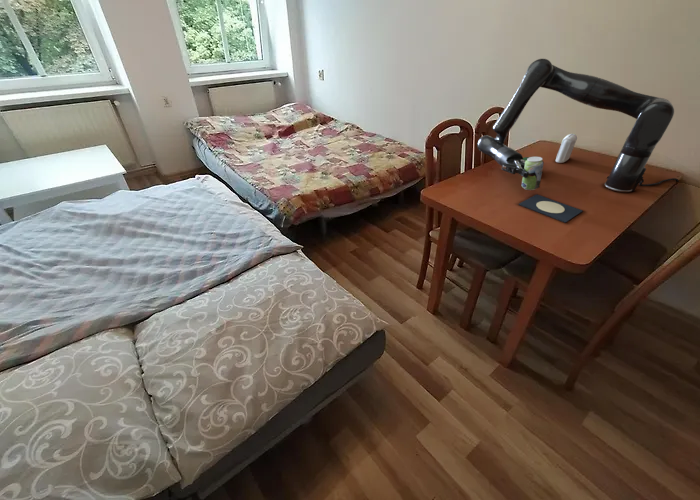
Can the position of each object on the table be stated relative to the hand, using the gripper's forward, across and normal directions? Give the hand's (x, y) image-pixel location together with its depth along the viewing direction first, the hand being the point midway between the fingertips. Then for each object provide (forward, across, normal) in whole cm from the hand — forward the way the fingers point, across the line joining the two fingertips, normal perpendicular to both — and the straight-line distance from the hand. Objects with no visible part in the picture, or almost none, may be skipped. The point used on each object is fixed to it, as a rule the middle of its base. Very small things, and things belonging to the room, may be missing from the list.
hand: (532, 175), depth 119 cm
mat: (+7, +6, +10) cm, 14 cm away
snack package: (-26, +18, +11) cm, 33 cm away
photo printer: (-37, +41, +11) cm, 57 cm away
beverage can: (-3, +2, +7) cm, 8 cm away
